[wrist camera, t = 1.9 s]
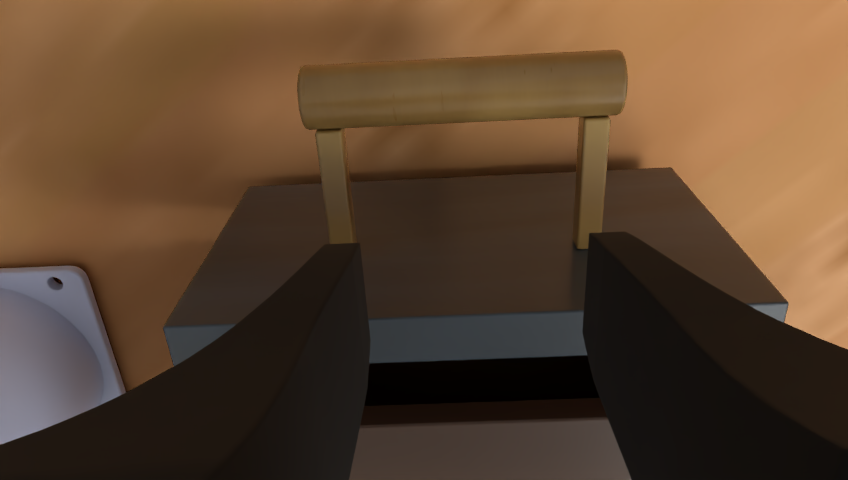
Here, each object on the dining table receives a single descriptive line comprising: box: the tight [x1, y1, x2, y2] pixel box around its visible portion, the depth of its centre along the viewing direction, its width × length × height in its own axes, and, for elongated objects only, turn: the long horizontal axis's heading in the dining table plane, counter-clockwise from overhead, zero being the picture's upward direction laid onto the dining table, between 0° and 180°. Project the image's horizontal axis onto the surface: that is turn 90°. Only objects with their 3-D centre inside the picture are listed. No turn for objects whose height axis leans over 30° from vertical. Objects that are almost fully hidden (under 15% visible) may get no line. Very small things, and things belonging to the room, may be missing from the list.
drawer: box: [163, 50, 788, 406], centre depth 20 cm, size 18×13×8 cm
